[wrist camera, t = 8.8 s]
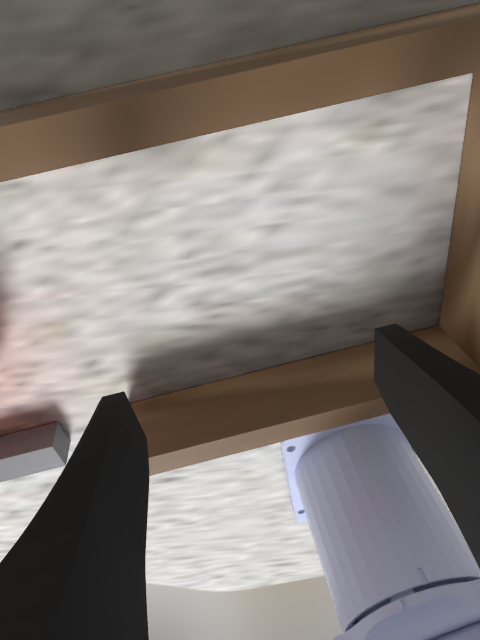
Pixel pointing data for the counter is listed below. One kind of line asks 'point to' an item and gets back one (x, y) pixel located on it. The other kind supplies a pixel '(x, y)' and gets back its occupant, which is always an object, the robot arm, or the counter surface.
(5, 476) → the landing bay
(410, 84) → the brown wooden frame
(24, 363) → the counter surface
